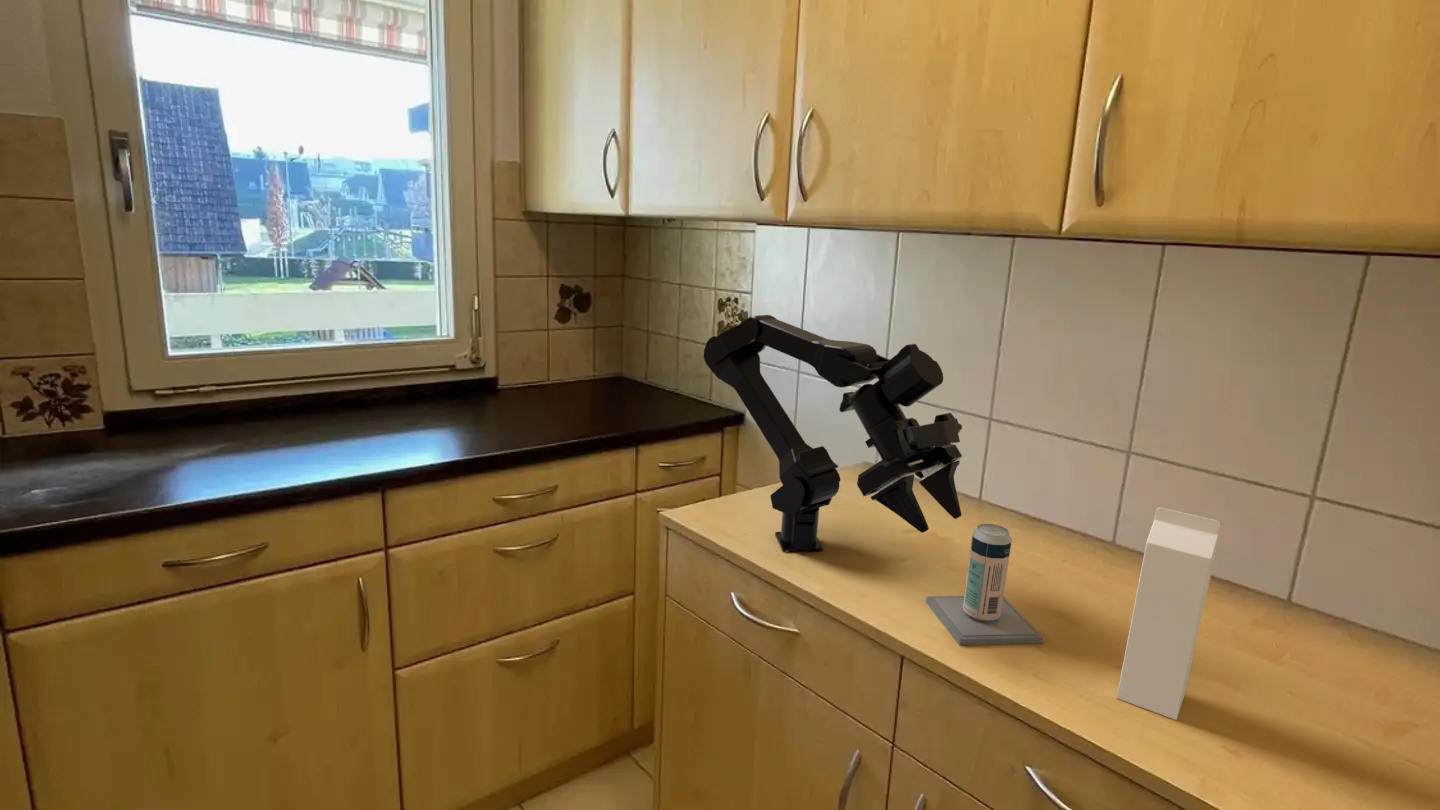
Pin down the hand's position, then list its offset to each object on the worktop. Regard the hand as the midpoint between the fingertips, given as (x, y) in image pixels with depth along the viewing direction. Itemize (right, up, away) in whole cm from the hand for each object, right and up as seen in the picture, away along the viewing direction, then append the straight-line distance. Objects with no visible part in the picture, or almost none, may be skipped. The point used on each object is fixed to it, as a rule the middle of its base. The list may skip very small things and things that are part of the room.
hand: (942, 524), depth 104 cm
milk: (+19, -17, -17) cm, 30 cm away
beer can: (+5, -12, -2) cm, 13 cm away
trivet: (+5, -12, -2) cm, 13 cm away
